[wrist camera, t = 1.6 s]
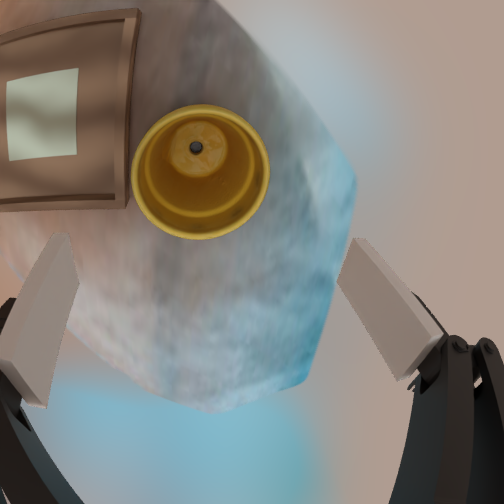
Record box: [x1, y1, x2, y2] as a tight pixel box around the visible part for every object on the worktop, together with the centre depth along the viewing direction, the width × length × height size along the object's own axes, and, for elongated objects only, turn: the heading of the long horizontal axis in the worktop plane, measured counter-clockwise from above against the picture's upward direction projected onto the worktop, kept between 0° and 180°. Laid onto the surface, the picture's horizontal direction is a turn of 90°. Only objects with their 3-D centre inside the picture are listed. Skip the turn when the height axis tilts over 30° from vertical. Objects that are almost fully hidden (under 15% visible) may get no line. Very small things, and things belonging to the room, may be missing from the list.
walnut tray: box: [0, 8, 142, 212], centre depth 21 cm, size 20×20×2 cm
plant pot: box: [131, 104, 270, 240], centre depth 24 cm, size 10×10×10 cm
